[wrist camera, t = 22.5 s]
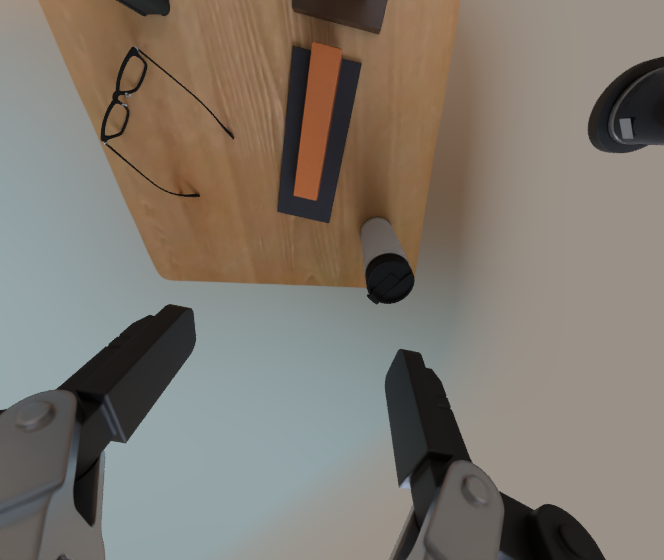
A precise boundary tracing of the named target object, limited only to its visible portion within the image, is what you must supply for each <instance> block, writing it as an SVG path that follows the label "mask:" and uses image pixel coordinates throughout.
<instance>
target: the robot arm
mask: <svg viewBox="0 0 664 560" xmlns="http://www.w3.org/2000/svg"><path fill="white" fill-rule="evenodd" d="M607 130H608V133H609V136H610V137H611V139H612V140H614V141H615V142H617V143H620V144H632V145H633V144H643V145H664V67H663V68H658V69H655V70H652V71H649V72H647V73H645V74H644V75H642V76H640V77H639V78H637V79H636V80H635V81H633V82H632V83H631V84H630V85H629V86H628V87H627V88H626V89H625V90H624V91H623V92H622V93H621V94H620V96H619V97H618V98H617V100H616V101H615V103H614V105H613V107H612V109H611V111H610V114H609V117H608V122H607ZM195 342H196V333H195V323H194V313H193V310H192V309H191V308H187V307H182V306H177V305H172V304H169V305H167V306H165V307H164V308H163V309H162V310H161V311H160V312H159V313H157V314H156V315H155V316H152V315H148V316H146V317H145V318H143V319H141V320H138V321H136V322H134V323H132V324H131V325H130V326H129V327H128V328H127V329H126V330H124V331H123V332H122V333H121V334H120V336H119V337H116V338H115V339H114V340H113V341H112V342H110V343H109V345H108V347H105V348H104V349H102V350H101V351H100V352H99V353H98V354H97V355H96V356H94V357H93V358H92V359H91V360H90V361H89V362H87V363H86V364H85V365H84V366H83V367H82V368H80V369H79V370H78V371H77V372H76V373H75V374H74V375H72V376H71V377H70V378H69V379H68V380H67V381H66V382H64V383H63V384H62V385H61V386H59V387H58V388H57V389H55V390H49V391H45V392H41V393H37V394H34V395H32V396H29V397H27V398H25V399H23V400H21V401H19V402H18V403H16V404H14V405H12V406H11V407H10V408H8V409H5V410H0V560H105V549H104V544H103V538H102V531H101V519H102V501H103V485H104V468H105V452H104V449H105V447H106V446H107V445H108V444H109V442H110V441H116V442H121V443H126V442H127V441H128V440H129V438H130V437H131V435H132V434H133V433H134V431H135V430H136V429H137V427H138V426H139V424H140V423H141V422H142V420H143V419H144V418H145V416H146V415H147V413H148V412H149V411H150V409H151V408H152V406H153V405H154V404H155V402H156V401H157V399H158V398H159V397H160V396H161V394H162V393H163V391H164V390H165V389H166V387H167V386H168V385H169V383H170V382H171V380H172V379H173V378H174V376H175V375H176V374H177V372H178V371H179V369H180V368H181V367H182V365H183V364H184V363H185V361H186V360H187V358H188V357H189V356H190V354H191V353H192V351H193V349H194V346H195ZM385 393H386V400H387V407H388V414H389V421H390V428H391V435H392V442H393V449H394V456H395V462H396V470H397V477H398V485H399V488H406V489H411V493H412V498H413V506H412V508H411V510H410V513H409V515H408V517H407V519H406V522H405V524H404V526H403V529H402V531H401V533H400V535H399V538H398V540H397V542H396V545H395V547H394V549H393V552H392V554H391V556H390V559H389V560H606V559H605V558H604V556H603V554H602V552H601V551H600V549H599V548H598V546H597V544H596V542H595V541H594V540H593V538H592V537H591V535H590V534H589V533H588V532H587V530H586V529H585V528H584V527H583V526H582V525H581V524H580V523H579V522H578V521H577V520H576V519H575V518H574V517H573V516H571V515H570V514H569V513H567V512H566V511H564V510H563V509H561V508H559V507H557V506H555V505H551V504H544V505H542V506H541V507H539V508H537V509H536V510H533V509H531V508H529V507H527V506H526V505H524V504H522V503H520V502H518V501H516V500H515V499H513V498H511V497H509V496H507V495H505V494H503V493H501V492H500V491H498V489H497V487H496V486H495V484H494V483H493V481H492V480H491V479H490V477H489V476H488V475H487V474H486V473H485V472H484V471H483V470H482V469H481V468H479V467H478V466H476V465H475V464H473V463H472V461H471V459H470V457H469V454H468V452H467V449H466V446H465V444H464V441H463V439H462V436H461V433H460V430H459V428H458V425H457V422H456V420H455V417H454V414H453V412H452V410H451V409H450V407H451V406H450V404H449V402H448V398H446V393H445V390H444V388H443V385H442V382H441V381H440V379H439V378H438V377H437V375H436V374H435V373H434V371H433V370H432V369H429V368H426V367H425V364H424V361H423V358H422V355H421V354H420V353H419V352H414V351H408V350H404V349H399V350H398V352H397V354H396V356H395V358H394V360H393V362H392V364H391V366H390V368H389V370H388V372H387V375H386V379H385Z"/></svg>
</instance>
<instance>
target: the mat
mask: <svg viewBox="0 0 664 560" xmlns="http://www.w3.org/2000/svg"><path fill="white" fill-rule="evenodd" d="M310 58H311V50H307V49H303V48H299V47H295V46H293V52H292V63H291V74H290V84H289V95H288V106H287V116H286V127H285V138H284V149H283V159H282V170H281V181H280V192H279V202H278V212H281V213H286V214H290V215H295V216H299V217H304V218H308V219H313V220H317V221H322V222H326V223H329V221H330V216H331V211H332V206H333V201H334V196H335V191H336V186H337V181H338V177H339V172H340V167H341V162H342V157H343V152H344V147H345V142H346V137H347V132H348V128H349V123H350V118H351V113H352V108H353V103H354V98H355V93H356V88H357V84H358V79H359V74H360V69H361V63H358V62H354V61H350V60H346V59H342V62H341V68H340V74H339V80H338V85H337V91H336V97H335V103H334V108H333V114H332V120H331V126H330V132H329V137H328V143H327V149H326V155H325V160H324V166H323V172H322V178H321V183H320V189H319V195H318V198H317V200H316V201H315V200H311V199H306V198H302V197H297V196H294V188H295V179H296V171H297V163H298V155H299V147H300V139H301V131H302V123H303V115H304V107H305V98H306V90H307V82H308V74H309V66H310Z"/></svg>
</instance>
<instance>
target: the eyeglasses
mask: <svg viewBox="0 0 664 560" xmlns="http://www.w3.org/2000/svg"><path fill="white" fill-rule="evenodd" d="M138 52H141V53H142V54H143V55H144V56H146V57H147V58H148V59H149V60H150V61H152V62H153V63H154V64H155V65H157V66H158V67H159V68H160V69H161V70H163V71H164V72H165V73H166V74H168V73H167V72H166V71H165V70H164V69H162V68H161V67H160V66H159V65H158V64H156V63H155V62H154V61H153V60H152V59H150V58H149V57H148V56H147V55H146V54H144V53H143V52H142V51H141V50H139V49H138V48H137V47H135V46H134V47H132V48H131V49H130V50H129V52H128V54H127V55H126V57H125V59H124V61H123V63H122V65H121V67H120V70H119V73H118V77H117V82H116V91H115V92H114V93H113V97H112V98H113V101H112V102H111V104H110V105H109V107H108V109H107V111H106V113H105V116H104V119H103V123H102V128H101V141H103V142H104V144H105V145H107V146H108V147H109V148H110V149H111V150H112V151H114V152H115V153H116V154H117V155H118V156H120V157H121V158H122V159H123V160H124V161H126V162H127V163H128V164H129V165H130V166H132V167H133V168H134V169H135V170H136V171H138V170H137V169H136V168H135V167H134V166H133V165H131V164H130V163H129V162H128V161H127V160H126V159H124V158H123V157H122V156H121V155H120V154H119V153H118V152H116V151H115V150H114V149H113V148H112V147H111V146H109V145H108V143H105V142H107V140H109V139H112V138H115V137H118V136H120V135H122V133H123V132H124V129H125V127H126V125H127V122H128V118H129V110H128V108H127V107H126V106H127V104H123V103H122V102H120V101H119V100H118V96H120V95H126V94H129V95H128V96H127V95H126V97H131V96H132V95H131V93H133V92H136V91H137V90H138V88H139V87H140V85H141V83H142V81H143V79H144V77H145V73H146V70H147V63H146V62H145V61H144V59H143V58H142V57H141V56H140V55H139V53H138ZM132 56H136V57H138V58H140V59H141V60H142V61H143V63H144V65H145V67H144V71H143V74H142V77H141V79H140V81H139V83H138V85H137V87H136V88H135V89H133V90H130V91H120V90H119V89H120V80H121V77H122V73H123V71H124V68H125V66H126V64H127V62H128V61H129V59H130V58H131V57H132ZM168 75H169V76H170V77H171V78H172V79H174V78H173V77H172V76H171V75H170V74H168ZM174 80H175V81H176V82H177V83H178V84H180V83H179V82H178V81H177V80H176V79H174ZM180 85H181V86H182V87H183V88H184V89H186V88H185V87H184V86H183V85H182V84H180ZM186 90H187V91H188V92H189V93H190V94H192V93H191V92H190V91H189V90H188V89H186ZM192 95H193V94H192ZM193 96H194V97H195V98H196V99H197V100H198V101H199V102H200V103H201V104H202V105H203V106H204V107H205V108H206V109H207V110H208V111H209V112H210V113H211V114H212V115H213V116H214V114H213V113H212V112H211V111H210V110H209V109H208V108H207V107H206V106H205V105H204V104H203V103H202V102H201V101H200V100H199V99H198V98H197V97H196V96H195V95H193ZM117 103H118V104H120V105H122V106H124V107H125V109H126V110H127V115H126V120H125V123H124V125H123V128H122V130H121V132H120V133H117V134H115V135H111V136H106V135H105V126H106V122H107V118H108V116H109V113H110V111H111V109H112V108H113V106H114V105H115V104H117ZM214 118H215V119H216V120H217V121H218V123H219V124H220V125H221V126H222V128H223V129H224V130H225V131H226V132H227V133H228V134H229V135H230V136H231V137H232V139H234V137H233V135H232V133H231V132H229V131H228V130H227V129H226V128H225V127H224V126H223V125H222V124H221V123H220V121H219V120H218V119H217V118H216V117H215V116H214ZM138 172H139V173H140V174H141V175H142V176H144V175H143V174H142V173H141V172H140V171H138ZM144 177H145V176H144ZM145 178H146V179H147V180H149V179H148V178H147V177H145ZM149 181H150V180H149ZM150 182H151V183H152V184H154V183H153V182H152V181H150ZM154 185H155V186H157V185H156V184H154ZM157 187H158V188H160V187H159V186H157ZM160 189H162V188H160ZM162 190H163V191H165V192H168V191H166V190H164V189H162ZM168 193H170V194H174V195H178V196H184V197H200V195H198V194H189V195H182V194H175V193H171V192H168Z"/></svg>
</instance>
